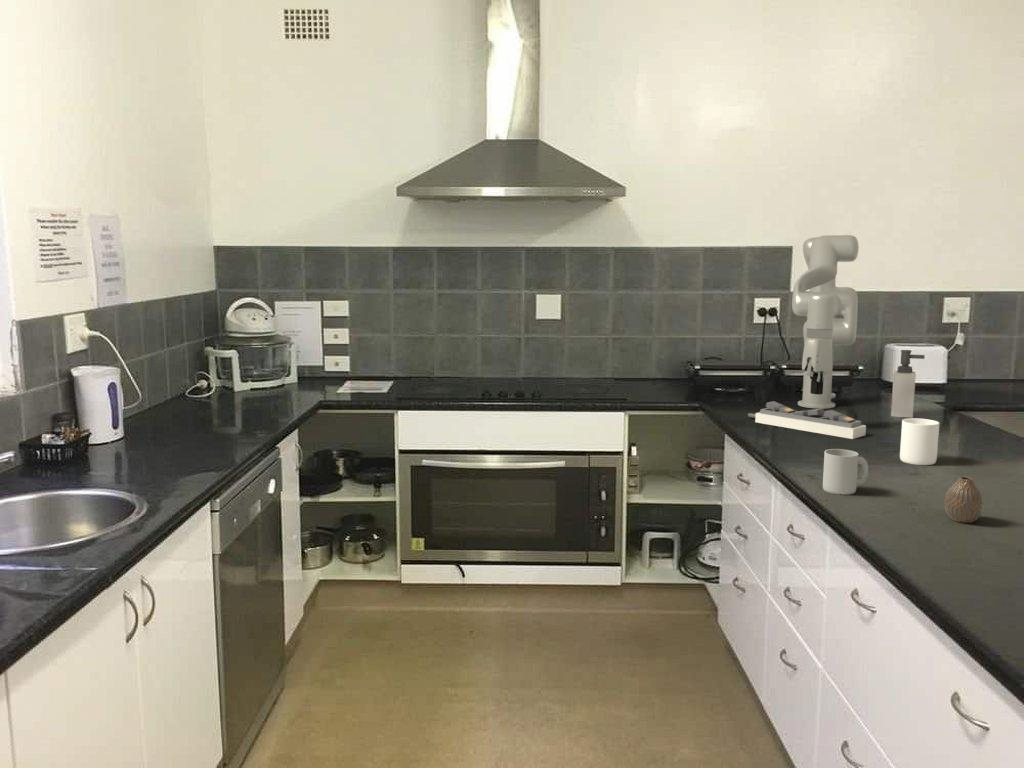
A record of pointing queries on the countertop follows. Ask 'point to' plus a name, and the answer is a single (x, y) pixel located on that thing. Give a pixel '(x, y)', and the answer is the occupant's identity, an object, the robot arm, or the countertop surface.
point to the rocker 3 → (838, 416)
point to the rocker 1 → (779, 407)
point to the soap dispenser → (904, 386)
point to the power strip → (810, 423)
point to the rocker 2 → (810, 412)
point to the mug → (919, 441)
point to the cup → (843, 471)
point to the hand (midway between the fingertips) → (816, 393)
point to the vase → (964, 501)
